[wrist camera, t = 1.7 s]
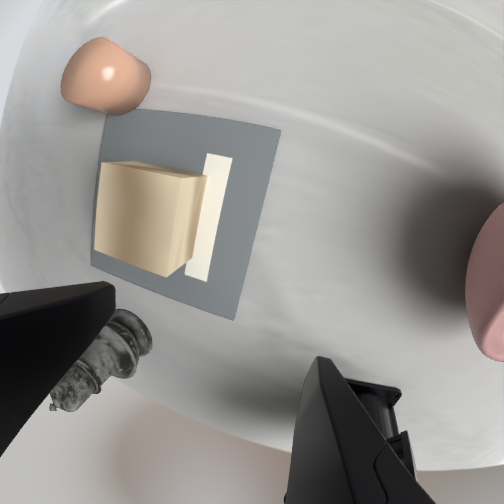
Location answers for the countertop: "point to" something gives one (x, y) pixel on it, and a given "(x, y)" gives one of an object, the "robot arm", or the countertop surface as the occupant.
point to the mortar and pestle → (487, 287)
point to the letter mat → (214, 201)
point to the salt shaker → (104, 360)
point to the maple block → (148, 214)
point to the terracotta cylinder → (105, 78)
